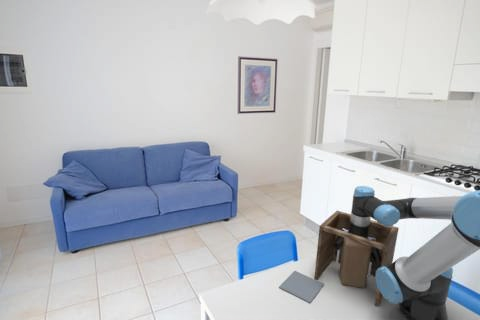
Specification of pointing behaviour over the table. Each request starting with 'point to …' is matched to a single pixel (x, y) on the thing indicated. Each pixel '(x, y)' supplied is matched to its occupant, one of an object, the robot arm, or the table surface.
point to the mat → (302, 286)
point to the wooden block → (354, 263)
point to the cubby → (332, 230)
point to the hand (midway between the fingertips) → (353, 267)
